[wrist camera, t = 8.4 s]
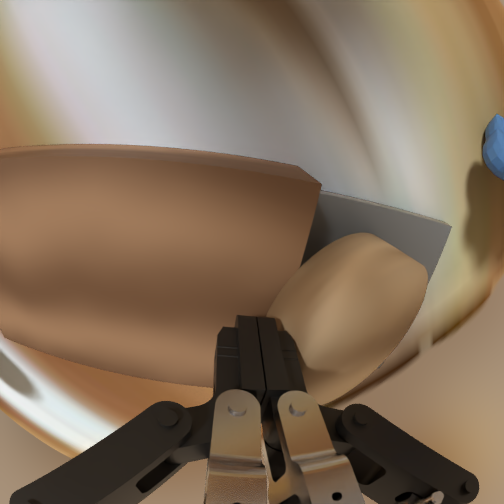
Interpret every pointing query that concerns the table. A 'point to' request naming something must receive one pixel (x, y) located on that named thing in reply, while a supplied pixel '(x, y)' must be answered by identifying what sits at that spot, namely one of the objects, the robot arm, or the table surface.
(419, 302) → the tan domed disc
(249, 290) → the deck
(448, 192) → the table surface
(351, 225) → the slate board
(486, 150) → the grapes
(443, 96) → the table surface
